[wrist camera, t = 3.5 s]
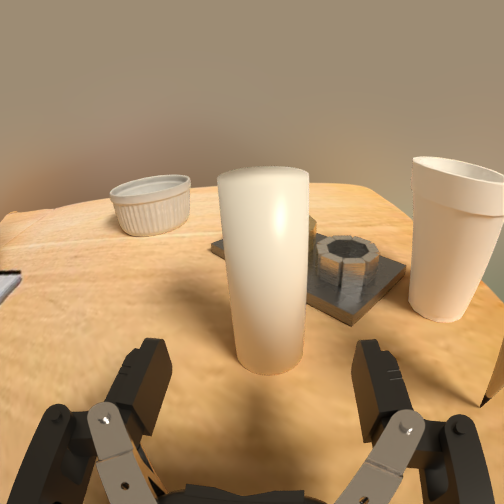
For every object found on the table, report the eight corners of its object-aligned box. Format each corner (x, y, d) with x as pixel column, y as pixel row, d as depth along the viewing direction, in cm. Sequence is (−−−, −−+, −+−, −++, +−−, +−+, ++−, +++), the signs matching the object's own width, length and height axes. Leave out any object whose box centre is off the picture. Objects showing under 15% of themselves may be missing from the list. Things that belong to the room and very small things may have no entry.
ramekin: (175, 206, 57) (170, 170, 53) (210, 223, 47) (205, 179, 44) (110, 226, 50) (102, 188, 46) (130, 249, 40) (120, 202, 37)
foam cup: (491, 308, 23) (525, 182, 17) (446, 349, 20) (493, 189, 14) (428, 269, 31) (445, 156, 25) (374, 294, 27) (390, 157, 22)
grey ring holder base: (212, 252, 38) (208, 224, 36) (275, 226, 44) (274, 202, 42) (351, 326, 24) (357, 289, 22) (404, 275, 30) (410, 244, 28)
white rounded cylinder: (223, 349, 22) (199, 177, 17) (270, 320, 25) (264, 163, 19) (268, 386, 19) (260, 191, 13) (316, 349, 22) (327, 173, 16)
